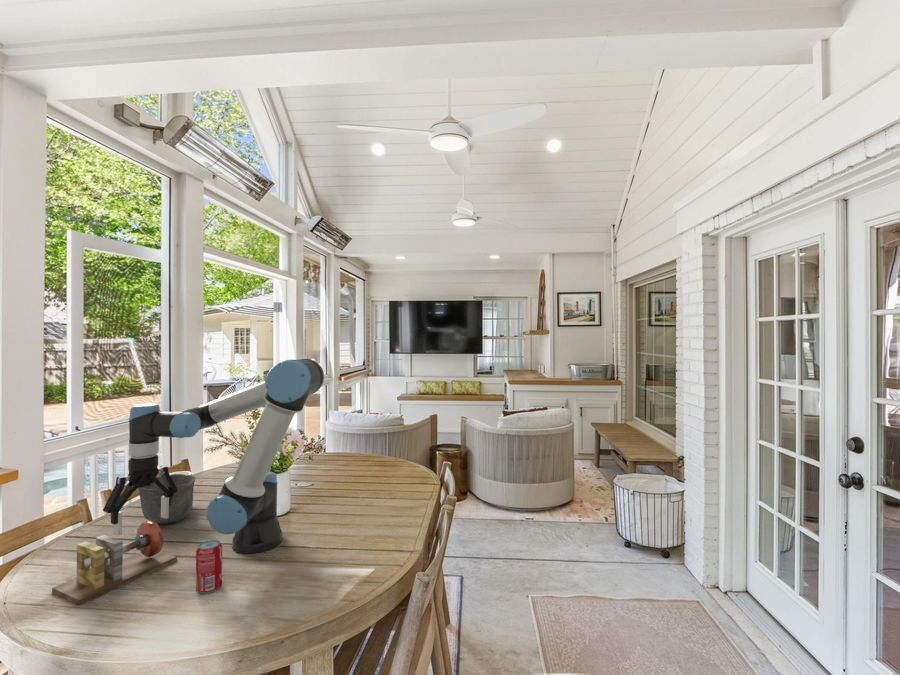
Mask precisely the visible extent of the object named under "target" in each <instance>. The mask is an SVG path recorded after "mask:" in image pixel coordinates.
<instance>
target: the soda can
mask: <svg viewBox="0 0 900 675" xmlns="http://www.w3.org/2000/svg"><path fill="white" fill-rule="evenodd" d="M222 584H223V544H222V543H221V540H218V539H211V540H205V541H202V542H201V543H199V544H198V545H197V549H196V550H195V591H196V592H198V593H199V594H203V595H204V594H205V595H206V594H211V593H213V592H216V591H217V590H218V589H219V588H220V587H221V586H222Z"/></svg>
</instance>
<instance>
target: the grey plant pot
mask: <svg viewBox="0 0 900 675" xmlns="http://www.w3.org/2000/svg"><path fill="white" fill-rule="evenodd" d="M170 476H171V478H172V480H173V482H174V484H175V486H176V488H177V489H178V491H177V492H176V493H174V496H173V497H171V506H169V518H167V519H165V518H162V517H161V497H162V496H165V495H164V494H162V493H161V492H160V491H159V490H158V489H157V488H156V487H155V486H154V485H152V484H150V485H149V486H144V487H142V488H137V490H138V494H139V498H140V500H139V501H140V506H141V511H142V512H141V513H142V514H143V517H144V518H145V519H146V520H148V521H155V522H156V523H157V524H172V523H176V522H179V521H181V520H182V519H184V518H186V517H187V516H188V515H189V514H190V512H191V510H192V507H193V503H194V502H193V501H194V495H193V494H194V486H195V482H196V476H194V475H192V476H191V475H184V474H173V475H170ZM156 478H157V479H158V480H159V481H160V483H162V484H163V485H164V486H165V487H166V488H167V489H168V487H167V486H166V484H165V482H164V480H163V478H162V477H161V475H160V476H156ZM168 490H169V489H168Z"/></svg>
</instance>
